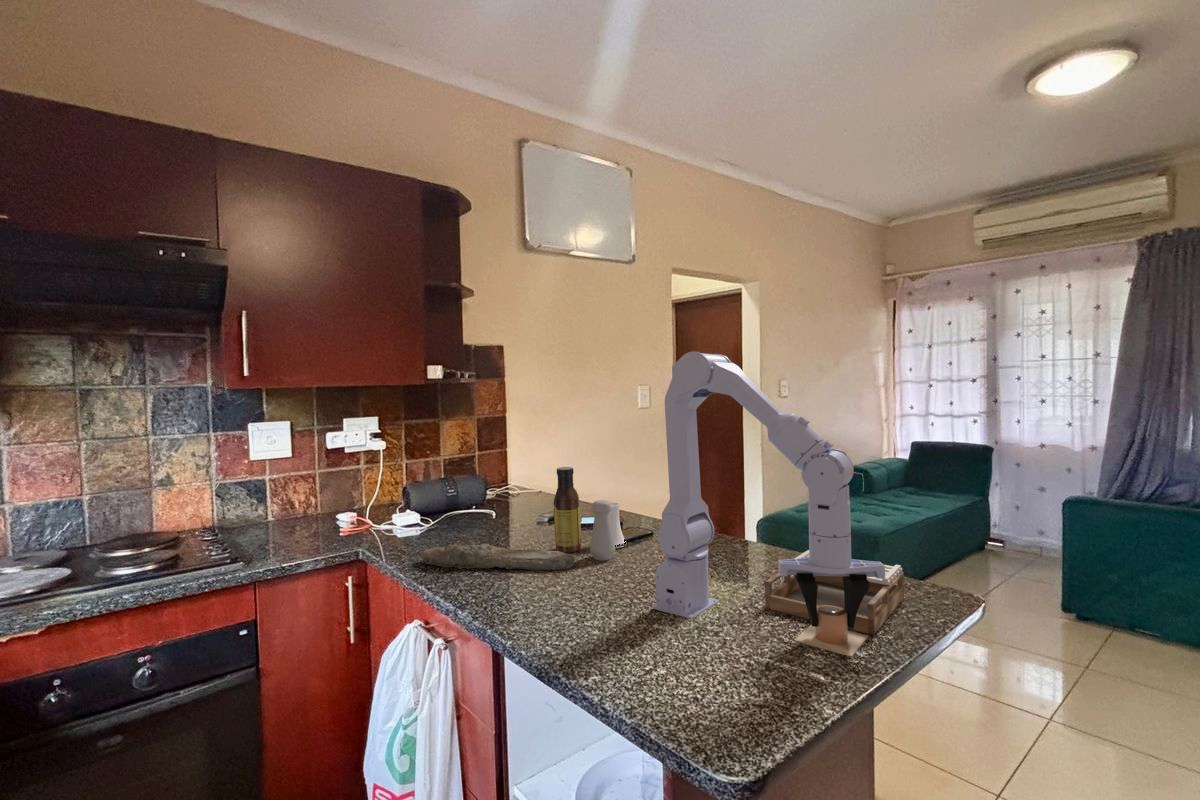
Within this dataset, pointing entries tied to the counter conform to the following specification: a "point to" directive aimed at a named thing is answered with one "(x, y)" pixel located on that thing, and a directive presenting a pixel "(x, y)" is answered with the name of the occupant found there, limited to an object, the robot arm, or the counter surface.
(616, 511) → the vase
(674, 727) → the counter surface
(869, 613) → the box
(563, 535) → the sauce bottle
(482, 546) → the long grey stone
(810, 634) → the mat
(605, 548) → the salt shaker
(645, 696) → the counter surface
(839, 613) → the pot
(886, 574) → the cover
